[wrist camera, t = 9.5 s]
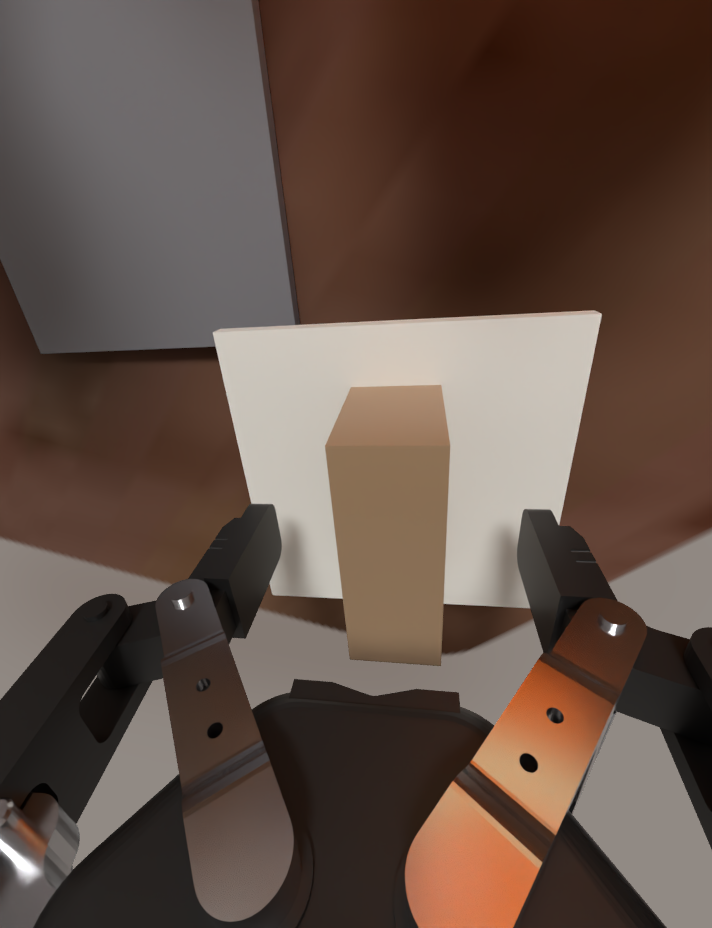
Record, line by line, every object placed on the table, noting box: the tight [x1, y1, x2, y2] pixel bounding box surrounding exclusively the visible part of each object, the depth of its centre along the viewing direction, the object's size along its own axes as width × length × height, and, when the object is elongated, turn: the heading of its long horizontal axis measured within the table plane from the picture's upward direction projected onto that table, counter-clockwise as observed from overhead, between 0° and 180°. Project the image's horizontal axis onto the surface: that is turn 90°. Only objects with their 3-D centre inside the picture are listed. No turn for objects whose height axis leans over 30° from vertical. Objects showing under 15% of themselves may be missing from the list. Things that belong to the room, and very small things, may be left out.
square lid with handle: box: [213, 310, 602, 666], centre depth 14 cm, size 12×12×5 cm
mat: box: [0, 0, 300, 354], centre depth 17 cm, size 13×13×1 cm
